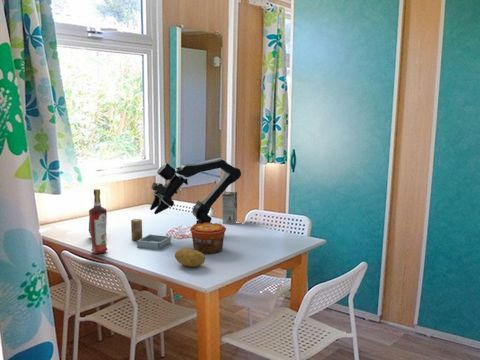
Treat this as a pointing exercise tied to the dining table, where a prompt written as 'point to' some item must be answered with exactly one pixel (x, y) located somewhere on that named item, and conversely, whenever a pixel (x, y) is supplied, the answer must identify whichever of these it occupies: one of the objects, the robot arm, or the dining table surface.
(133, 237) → the walnut cylinder
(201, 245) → the food container
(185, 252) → the potato
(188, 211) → the dining table surface
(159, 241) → the bin
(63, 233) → the dining table surface
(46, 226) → the dining table surface
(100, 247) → the liquor
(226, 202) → the coffee box
